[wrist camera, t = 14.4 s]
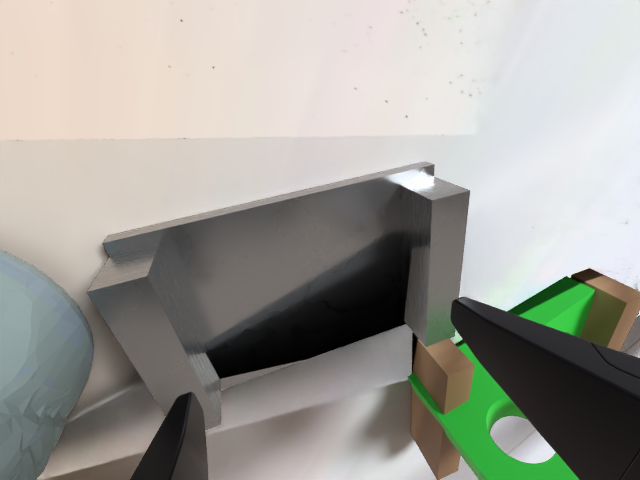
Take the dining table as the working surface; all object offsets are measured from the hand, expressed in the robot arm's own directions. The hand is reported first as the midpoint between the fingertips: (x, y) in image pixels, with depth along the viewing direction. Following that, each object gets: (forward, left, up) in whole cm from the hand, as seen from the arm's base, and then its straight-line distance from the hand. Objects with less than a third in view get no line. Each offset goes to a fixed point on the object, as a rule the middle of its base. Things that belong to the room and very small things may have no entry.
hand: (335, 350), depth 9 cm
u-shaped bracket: (0, 0, -4) cm, 4 cm away
